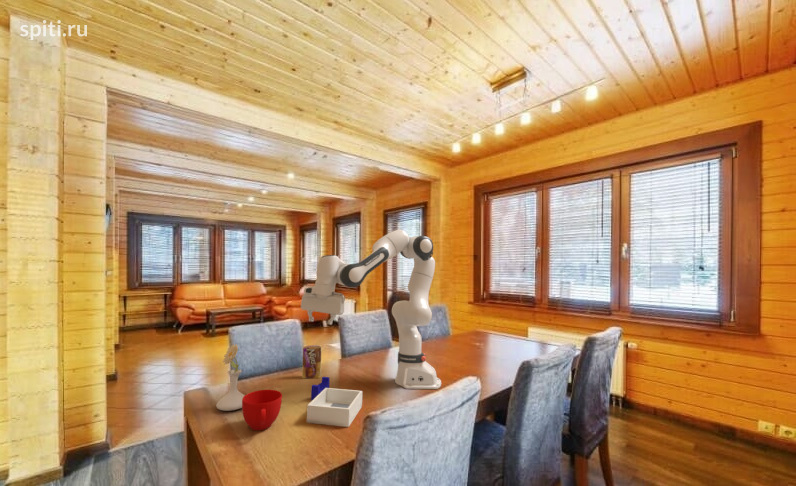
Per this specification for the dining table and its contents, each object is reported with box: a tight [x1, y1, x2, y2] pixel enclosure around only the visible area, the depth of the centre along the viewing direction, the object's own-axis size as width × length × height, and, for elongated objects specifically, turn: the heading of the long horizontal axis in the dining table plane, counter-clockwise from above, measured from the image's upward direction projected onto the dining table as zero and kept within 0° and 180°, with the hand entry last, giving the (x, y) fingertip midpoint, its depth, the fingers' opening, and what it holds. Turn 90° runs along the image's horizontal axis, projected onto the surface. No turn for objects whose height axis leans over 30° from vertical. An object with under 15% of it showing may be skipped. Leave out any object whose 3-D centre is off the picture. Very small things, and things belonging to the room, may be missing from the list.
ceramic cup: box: [241, 389, 283, 431], centre depth 115 cm, size 13×17×10 cm
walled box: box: [306, 387, 363, 428], centre depth 127 cm, size 16×18×6 cm
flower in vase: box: [216, 343, 246, 412], centre depth 131 cm, size 13×11×25 cm
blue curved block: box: [310, 376, 330, 401], centre depth 145 cm, size 12×4×6 cm, turn 169°
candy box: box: [301, 344, 323, 379], centre depth 168 cm, size 9×4×15 cm, turn 99°
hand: (320, 322), depth 146 cm, fingers open, 8 cm apart
